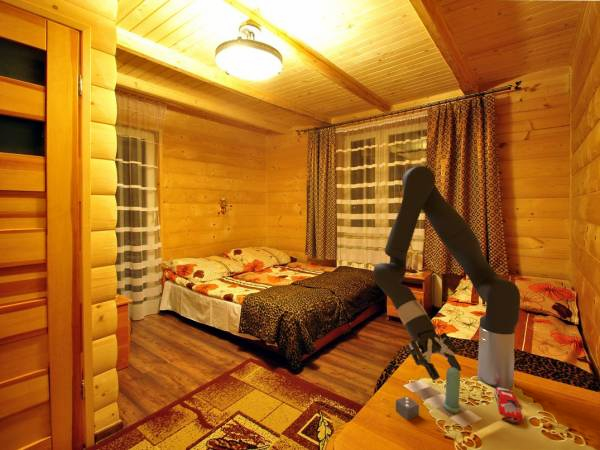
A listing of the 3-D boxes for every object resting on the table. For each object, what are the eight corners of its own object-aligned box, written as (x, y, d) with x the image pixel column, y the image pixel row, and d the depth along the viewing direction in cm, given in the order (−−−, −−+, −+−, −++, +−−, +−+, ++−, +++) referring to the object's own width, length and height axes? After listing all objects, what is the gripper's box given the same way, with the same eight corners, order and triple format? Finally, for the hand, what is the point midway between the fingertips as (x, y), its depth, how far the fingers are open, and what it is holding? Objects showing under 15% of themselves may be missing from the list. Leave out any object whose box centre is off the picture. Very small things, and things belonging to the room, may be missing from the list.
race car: (524, 429, 76) (525, 413, 76) (498, 422, 79) (499, 407, 79) (515, 400, 88) (515, 386, 88) (492, 394, 91) (493, 381, 90)
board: (420, 383, 96) (420, 379, 96) (483, 422, 78) (483, 418, 78) (401, 389, 92) (401, 385, 92) (462, 432, 74) (462, 427, 74)
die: (406, 410, 82) (407, 394, 82) (418, 419, 79) (419, 403, 79) (395, 415, 81) (395, 398, 80) (407, 424, 77) (407, 407, 77)
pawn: (450, 402, 84) (452, 363, 84) (463, 411, 81) (464, 369, 80) (440, 406, 82) (442, 366, 82) (453, 415, 79) (455, 373, 78)
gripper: (404, 317, 87) (438, 376, 77) (439, 310, 93) (474, 364, 83) (390, 329, 92) (420, 386, 82) (424, 321, 98) (456, 374, 88)
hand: (448, 375), depth 83 cm, fingers open, 8 cm apart
